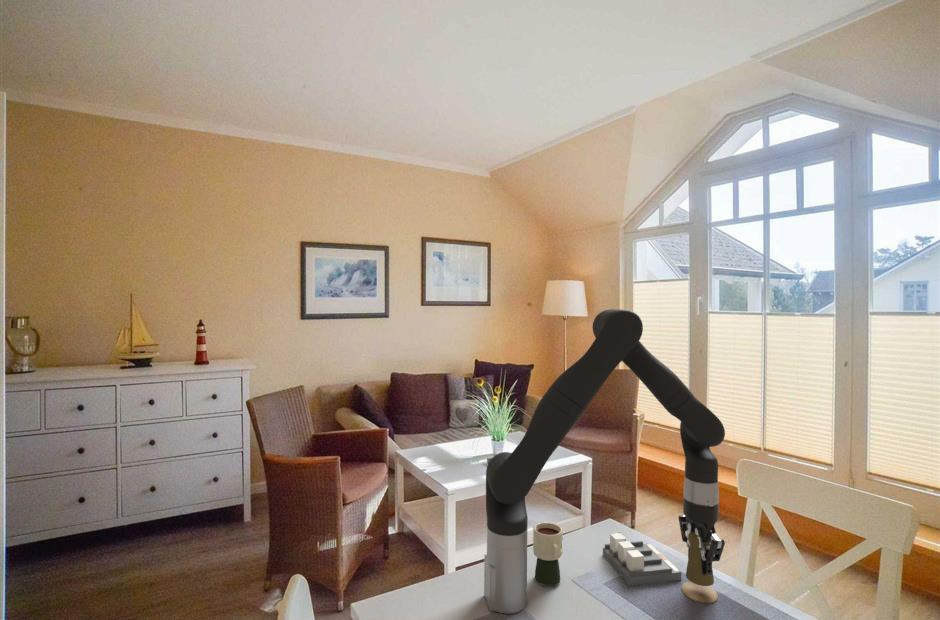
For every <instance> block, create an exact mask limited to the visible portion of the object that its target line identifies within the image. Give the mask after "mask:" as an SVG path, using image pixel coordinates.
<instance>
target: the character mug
mask: <svg viewBox="0 0 940 620" xmlns="http://www.w3.org/2000/svg"><path fill="white" fill-rule="evenodd" d="M532 531H533V535H532V536H533V538H532V539H533V540H532V543H533V545H532V552H533V555H534V556H535V557H536V564H535V570H534V571H535V572H534V580H535V582H537V583H538V584H540V585H545V586H557V585H559V584H560V583H561V568H560V563H559V559H560V558H561V556H562V555H563V553H564V552H563V540H564V535H563V533H564V532H563V528H562V526H560V525H559V524H557V523H554V522H549V521H548V522H547V521H545V522H539V523H536V524H534V526H533V530H532Z"/></svg>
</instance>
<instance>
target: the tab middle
mask: <svg viewBox="0 0 940 620" xmlns="http://www.w3.org/2000/svg"><path fill="white" fill-rule="evenodd" d="M630 542H631V541H629V540H628V541H627V540H626V541H625V542H618V558H619V559H620V560H621V561H622V562H623V561H627V551H631V550H635V547H634V546H633V545H632V544H631V543H630Z"/></svg>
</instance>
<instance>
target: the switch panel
mask: <svg viewBox="0 0 940 620" xmlns="http://www.w3.org/2000/svg"><path fill="white" fill-rule="evenodd" d="M629 542H630V543H631V544H632V545H633V546H634V547H635V550H638V551H639V552H640V553H641V554H642V555H643V556H644V570H639V571H630V570H629V569H628V568H627V567H626V562H627V561H623V562H622V561H621V560H620V559H619V558H618V552H614V553H613V551H612V550H611V549H610V543H605V544H604V547H602V556H603V557H604V559H605V560H606V561H607V562H608V563H609V564H610V566H611V567H612V568H614V570H615V571H616V572H617V574H619V576H620V575H621V576H622V577H621V576H620V577H621V578H622V579H623V580H624V582H626V583H627V585H628V586H638V585H647V584H656V583H667V582H675V581H682V571H681V570H680V569H679V568H677V566H676V565H674V564H673V563H672V562H671V561H670V560H669V559H668V558H667V557H665V556H664V555H663V554H662V553H661V552H660V551H659V550H658V549H657V548H655V547H654V546H653V545H652V544H651V543H644V541H643V540H639V541H638V540H637V541H636V540H635V541H629Z"/></svg>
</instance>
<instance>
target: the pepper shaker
mask: <svg viewBox="0 0 940 620" xmlns="http://www.w3.org/2000/svg"><path fill="white" fill-rule="evenodd" d="M688 539H689V543H690V544H691V546H690V552H689V558H688V557H687V558H688V560H687V565H686V570H685V578H686V579H687V580H688V582H693V583H694V584H697V585H701V586H710V587H711V586H713V585H714V584H715V580H714V579H715V578H714V570H713V569H712V574H711V575H710V574H708V575H706V574H705V576H703V574H702V564H701V559H702V557H701V550H700V549H699V544H700V543H699V541H698V538H697V536H696V534H695V532H694V531H693V532H690V533H689V535H688ZM702 542H703V541H702ZM710 542H711V541H710ZM710 542H706V543H704V542H703V545H704V546H710V545H711V544H710ZM708 550H709V549H706V554H708Z"/></svg>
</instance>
